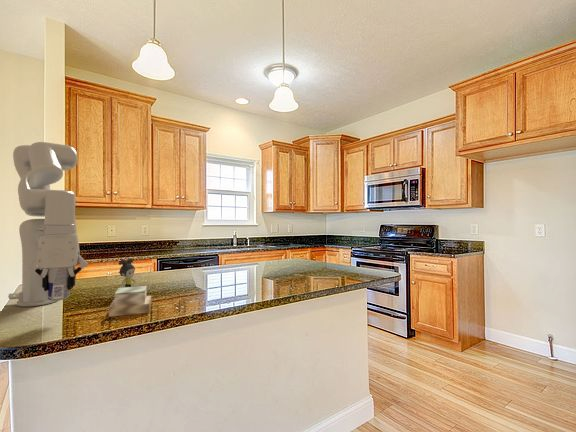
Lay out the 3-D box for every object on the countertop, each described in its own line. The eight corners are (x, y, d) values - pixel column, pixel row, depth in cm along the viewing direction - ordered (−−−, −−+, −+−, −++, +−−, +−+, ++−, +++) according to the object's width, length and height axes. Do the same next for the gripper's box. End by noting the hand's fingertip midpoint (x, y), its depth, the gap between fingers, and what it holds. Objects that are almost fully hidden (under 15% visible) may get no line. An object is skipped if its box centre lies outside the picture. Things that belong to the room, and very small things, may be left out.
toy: (125, 298, 124) (125, 260, 124) (113, 297, 125) (113, 260, 125) (139, 293, 132) (139, 258, 132) (128, 292, 133) (128, 257, 134)
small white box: (108, 316, 101) (108, 294, 101) (114, 306, 112) (114, 287, 112) (149, 312, 105) (149, 291, 105) (151, 303, 116) (151, 284, 116)
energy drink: (55, 296, 99) (55, 258, 98) (73, 296, 99) (73, 258, 99) (43, 301, 93) (44, 261, 93) (62, 301, 94) (63, 261, 93)
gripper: (19, 231, 89) (19, 294, 90) (89, 231, 95) (88, 290, 96) (30, 229, 96) (30, 288, 97) (94, 229, 102) (93, 284, 103)
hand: (59, 288), depth 96 cm, fingers closed on energy drink, 5 cm apart
